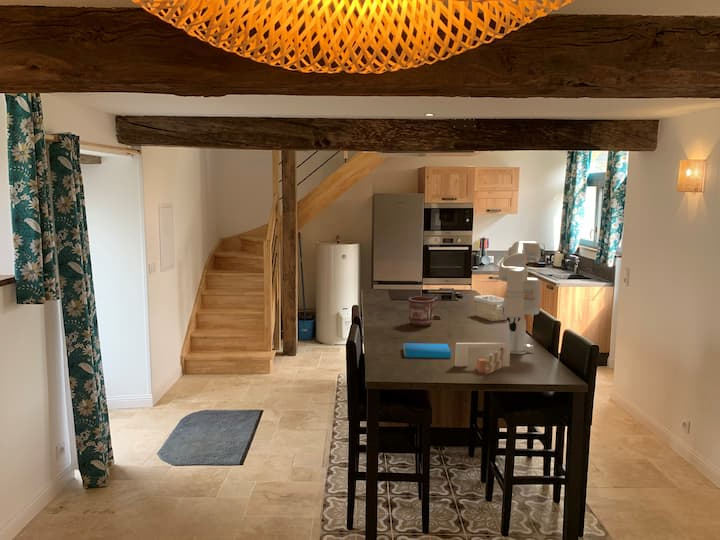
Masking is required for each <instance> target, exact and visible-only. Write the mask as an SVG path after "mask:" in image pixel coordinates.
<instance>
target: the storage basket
mask: <svg viewBox="0 0 720 540" xmlns="http://www.w3.org/2000/svg"><path fill="white" fill-rule="evenodd" d="M473 301H474V302H473V304H474V305H473V307H474V309H473V310H474V316H475V317H478V318H482V319H483V320H488V321H491V322H492V321H493V322H496V321H506V320H505V319H502V316H503V315H502V308H503V301H504V297H500V296H498V295H497V296H496V295H493V294H483V295H482V294H481V295H475V296H473Z"/></svg>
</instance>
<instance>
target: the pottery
mask: <svg viewBox="0 0 720 540" xmlns="http://www.w3.org/2000/svg"><path fill="white" fill-rule="evenodd" d="M435 301H436V299H435V298H433V297H430V296H412V297H408V321H409V324H411V325H412V326H414V327H421V328H422V327H423V328H424V327H428V326H430V325H431V324H432V323H433V322H434V311H435V310H434V308H435Z"/></svg>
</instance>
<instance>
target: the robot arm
mask: <svg viewBox="0 0 720 540" xmlns="http://www.w3.org/2000/svg"><path fill="white" fill-rule="evenodd" d="M541 251H542V250H541V246H540V244H539V243H538V242H537V241H528V240H527V241H525V240H518V241H515V242H513V244H512V246H510V247H509V248H508V250H507V257H505V258H504V259H502V260H501V262H500V264H499V268H498V273H497V274H498V275H497V276H498V279H499V280H500V281H502V282H506V293H505V294H506V295H504V297H503V298H504V301H503V308H502V315H503V316H502V319H505V320H504V321H508V325H507V326H508V329H507V330H508V331H507V343H510V354H513V355H525V354H527V353H528V349H529V350H530V349H531V350H533V349H534V348H535V347H534V345H530V344H526V331H527V321H526V318H525V315H534V316H535V315H538V314H539V313H540V310H541V300H542V299H541V298H542V297H541V296H542V282H541V280H540V279H539V278H536V277H529V268H528V266H527V265H526V263H538V262H539V261H540V260H541V257H542V256H541V255H542V254H541V253H542V252H541ZM526 295H528V296H526ZM529 295H530V296H529Z"/></svg>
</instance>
